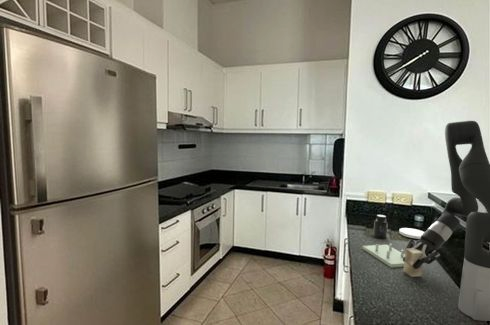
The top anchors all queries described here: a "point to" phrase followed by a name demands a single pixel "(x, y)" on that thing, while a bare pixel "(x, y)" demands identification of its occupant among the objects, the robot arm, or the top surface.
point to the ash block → (412, 262)
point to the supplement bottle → (380, 227)
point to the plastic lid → (411, 233)
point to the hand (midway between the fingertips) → (409, 264)
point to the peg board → (386, 254)
